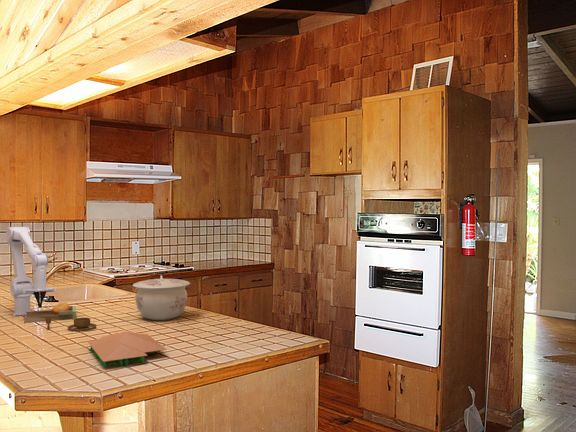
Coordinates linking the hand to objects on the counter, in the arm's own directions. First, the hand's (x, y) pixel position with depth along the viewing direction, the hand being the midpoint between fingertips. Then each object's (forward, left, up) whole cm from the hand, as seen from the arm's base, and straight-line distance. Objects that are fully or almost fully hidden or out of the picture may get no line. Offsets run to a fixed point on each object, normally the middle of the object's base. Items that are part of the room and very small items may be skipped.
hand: (40, 307), depth 265 cm
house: (+80, +33, -6) cm, 87 cm away
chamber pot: (+20, +55, -6) cm, 59 cm away
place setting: (+27, +15, -6) cm, 32 cm away
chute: (0, +4, -5) cm, 7 cm away
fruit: (0, +10, -6) cm, 11 cm away
